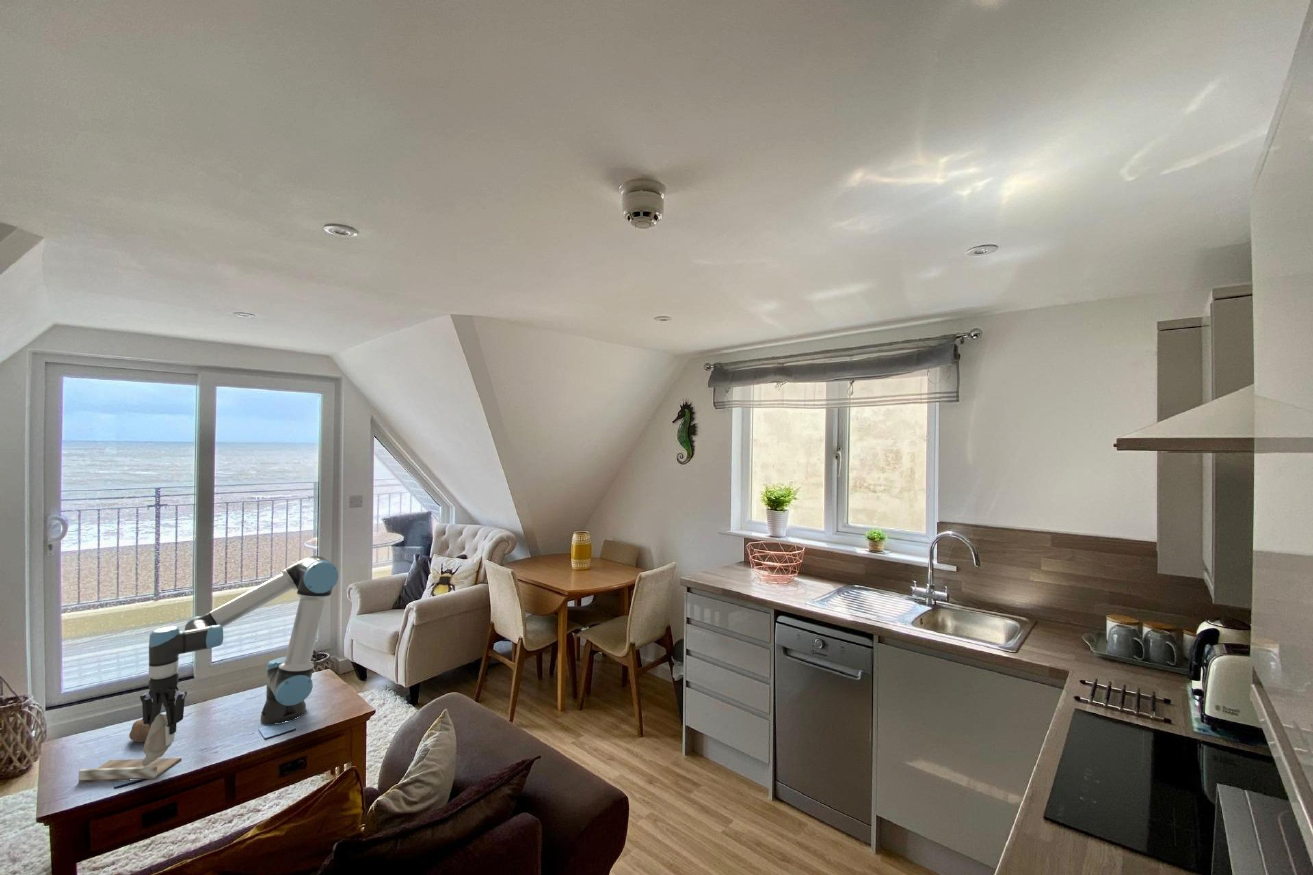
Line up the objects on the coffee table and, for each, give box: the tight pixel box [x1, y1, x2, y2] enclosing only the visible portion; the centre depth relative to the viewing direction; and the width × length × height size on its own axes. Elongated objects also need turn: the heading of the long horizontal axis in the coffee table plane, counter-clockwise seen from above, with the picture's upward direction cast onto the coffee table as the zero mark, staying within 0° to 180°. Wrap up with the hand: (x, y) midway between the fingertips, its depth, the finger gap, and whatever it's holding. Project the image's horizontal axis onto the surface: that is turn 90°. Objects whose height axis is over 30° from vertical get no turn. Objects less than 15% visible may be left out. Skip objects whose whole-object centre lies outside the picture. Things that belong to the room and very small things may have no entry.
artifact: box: [142, 712, 173, 766], centre depth 183 cm, size 9×3×15 cm, turn 170°
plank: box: [78, 757, 182, 784], centre depth 182 cm, size 23×11×4 cm, turn 94°
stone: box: [128, 713, 167, 743], centre depth 204 cm, size 12×9×10 cm
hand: (163, 743), depth 185 cm, fingers closed on artifact, 3 cm apart
